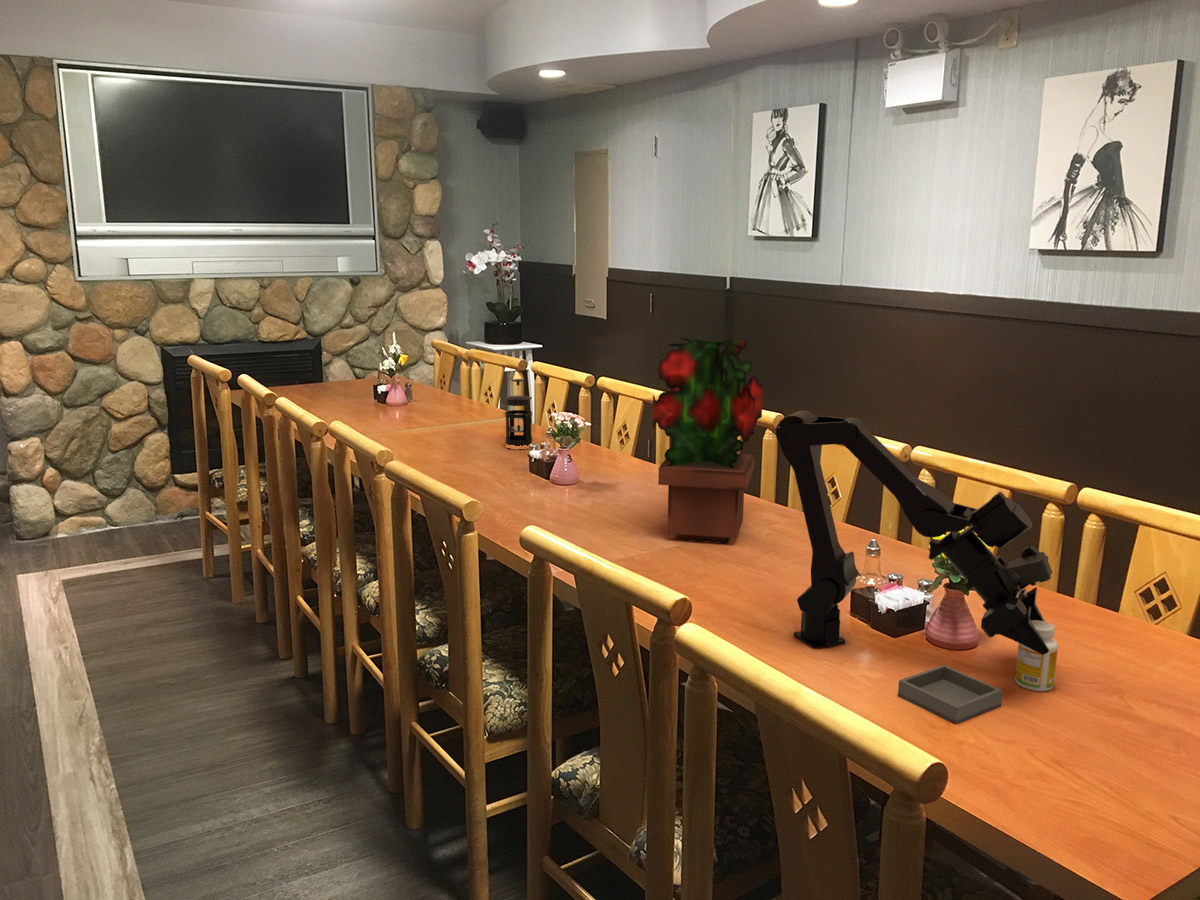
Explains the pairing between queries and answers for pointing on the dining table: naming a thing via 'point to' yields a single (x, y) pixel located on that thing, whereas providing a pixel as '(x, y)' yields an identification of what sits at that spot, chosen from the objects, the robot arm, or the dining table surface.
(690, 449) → the potted plant
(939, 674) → the charcoal tray
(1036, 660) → the supplement bottle
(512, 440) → the french press
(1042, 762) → the dining table surface
